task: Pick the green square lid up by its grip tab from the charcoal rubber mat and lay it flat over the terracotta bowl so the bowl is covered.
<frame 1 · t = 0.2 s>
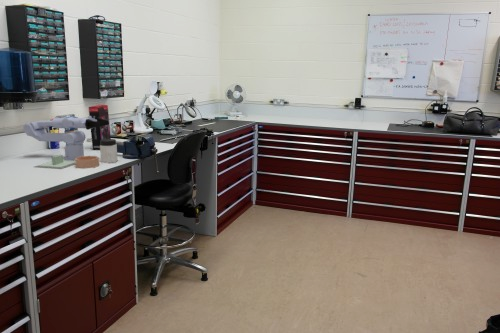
hand: (104, 123, 223), 21 cm above the table, tool horizontal, fingers open, 7 cm apart
graphics card box: (101, 148, 269), on the table
jar: (109, 161, 229), on the table
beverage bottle: (73, 148, 267), on the table
bowl: (87, 166, 216), on the table
green square lid: (58, 164, 218), resting on mat
mat: (58, 165, 218), on the table
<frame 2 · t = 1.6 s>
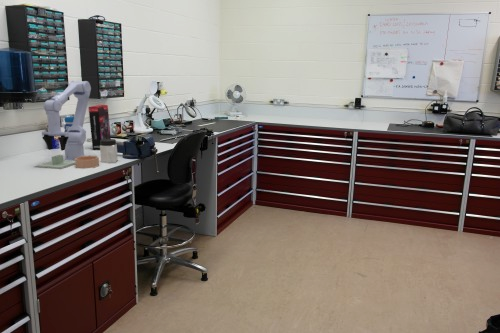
hand: (56, 149, 216), 8 cm above the table, tool pointing down, fingers open, 7 cm apart
nothing on the table moved.
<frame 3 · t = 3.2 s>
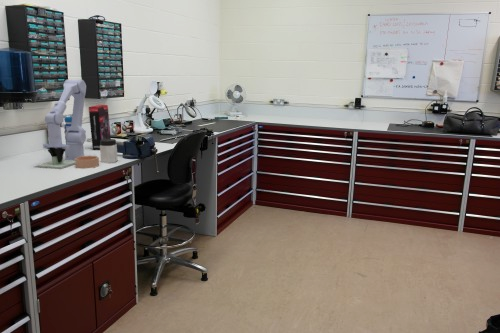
hand: (57, 161, 218), 2 cm above the table, tool pointing down, fingers closed on green square lid
green square lid: (58, 164, 218), resting on mat, touching gripper
everything else where it was.
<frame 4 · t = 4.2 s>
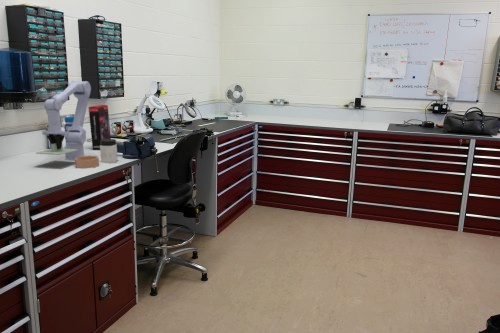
hand: (57, 148, 216), 9 cm above the table, tool pointing down, fingers closed on green square lid
green square lid: (57, 152, 216), point 7 cm above the table, touching gripper
everything else where it was.
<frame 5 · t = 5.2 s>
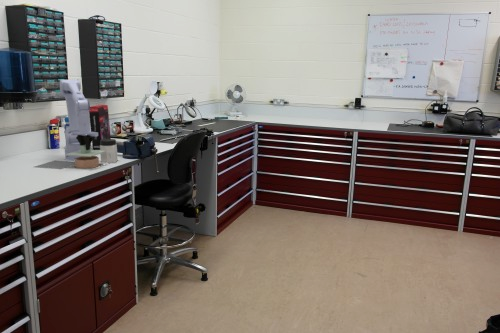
hand: (85, 149, 214), 9 cm above the table, tool pointing down, fingers closed on green square lid
green square lid: (86, 153, 215), point 7 cm above the table, touching gripper
everything else where it was.
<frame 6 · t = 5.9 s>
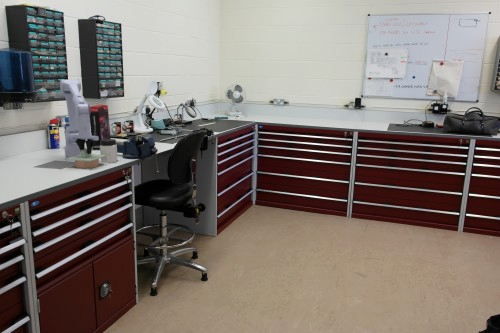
hand: (86, 153, 215), 7 cm above the table, tool pointing down, fingers open, 3 cm apart
bowl: (87, 166, 216), on the table, touching green square lid
green square lid: (86, 158, 215), point 4 cm above the table, touching bowl
everything else where it was.
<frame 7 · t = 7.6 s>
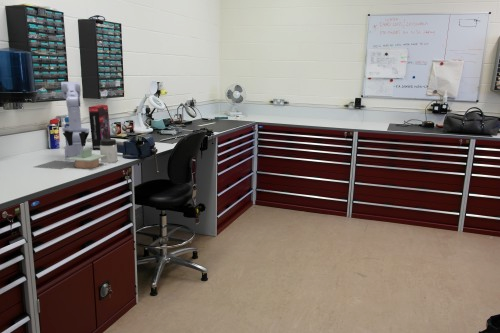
hand: (77, 145, 217), 10 cm above the table, tool pointing down, fingers open, 7 cm apart
nothing on the table moved.
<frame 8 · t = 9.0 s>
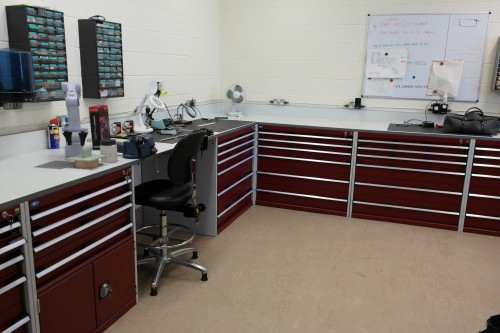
hand: (76, 145, 217), 10 cm above the table, tool pointing down, fingers open, 7 cm apart
nothing on the table moved.
at the end: green square lid 0.1 cm off-centre on the bowl, point 4.5 cm above the bowl's base; green square lid tilted 0°; the gripper is holding nothing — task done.
